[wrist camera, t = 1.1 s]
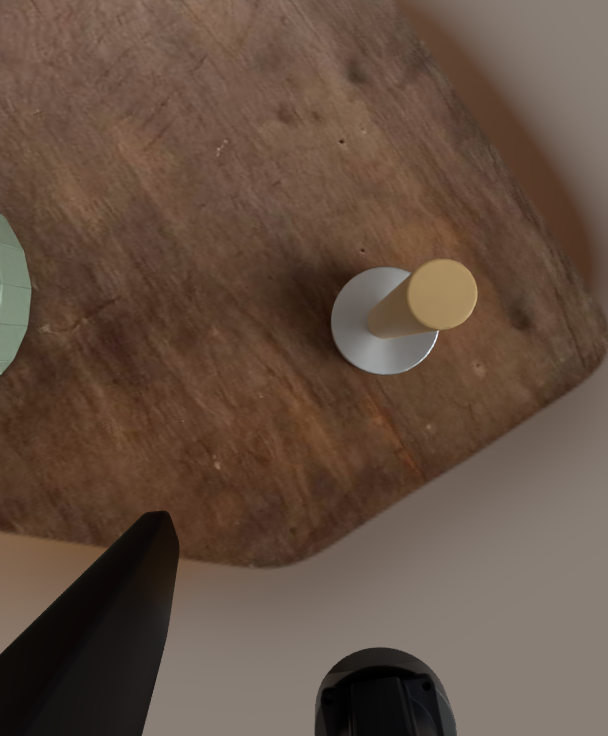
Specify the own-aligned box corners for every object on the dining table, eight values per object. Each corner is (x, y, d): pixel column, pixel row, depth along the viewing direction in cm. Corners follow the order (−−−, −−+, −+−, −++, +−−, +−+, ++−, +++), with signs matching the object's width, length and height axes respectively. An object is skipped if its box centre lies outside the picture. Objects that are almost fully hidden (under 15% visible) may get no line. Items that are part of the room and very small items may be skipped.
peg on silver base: (433, 362, 23) (568, 379, 10) (339, 379, 24) (355, 417, 11) (416, 268, 23) (531, 164, 10) (322, 286, 23) (317, 208, 10)
